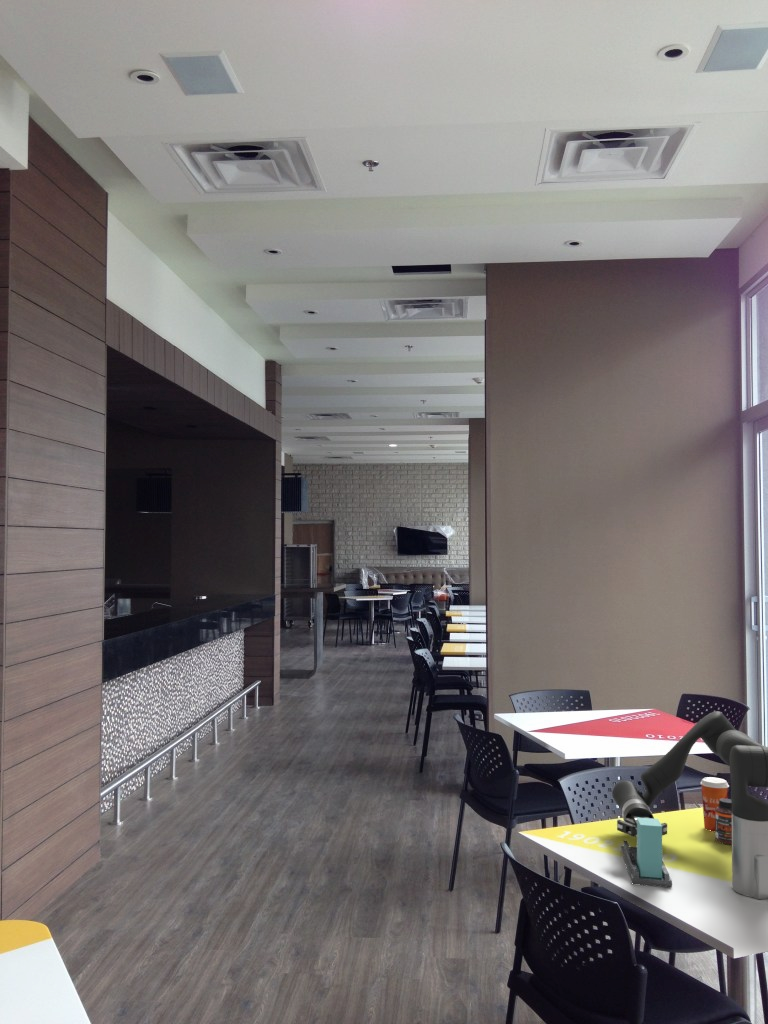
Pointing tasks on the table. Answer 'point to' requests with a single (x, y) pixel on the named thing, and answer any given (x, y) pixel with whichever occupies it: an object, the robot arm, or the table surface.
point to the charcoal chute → (631, 864)
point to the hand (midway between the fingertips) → (646, 838)
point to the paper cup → (712, 798)
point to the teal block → (649, 847)
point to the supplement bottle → (723, 822)
